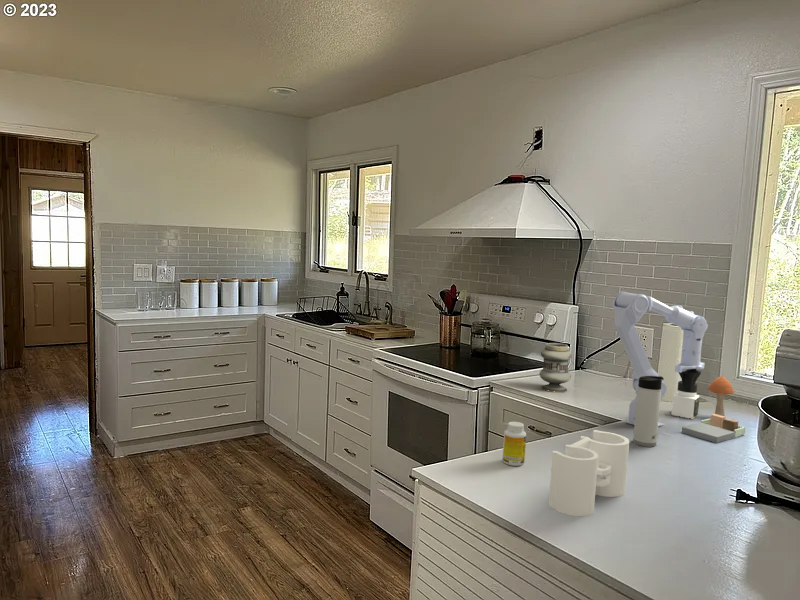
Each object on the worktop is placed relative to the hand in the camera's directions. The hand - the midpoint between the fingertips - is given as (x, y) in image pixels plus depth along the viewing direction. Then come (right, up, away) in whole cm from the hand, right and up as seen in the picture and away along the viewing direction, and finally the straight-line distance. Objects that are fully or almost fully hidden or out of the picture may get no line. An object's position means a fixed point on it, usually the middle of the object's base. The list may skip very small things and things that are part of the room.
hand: (687, 391), depth 200 cm
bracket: (-53, -14, -64) cm, 84 cm away
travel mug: (-24, -12, -24) cm, 36 cm away
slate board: (+1, -12, -12) cm, 17 cm away
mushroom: (+14, -11, +8) cm, 19 cm away
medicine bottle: (+4, -10, +10) cm, 15 cm away
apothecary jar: (-34, -5, +39) cm, 52 cm away
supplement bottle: (-66, -12, -45) cm, 81 cm away
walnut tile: (+8, -9, -11) cm, 16 cm away
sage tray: (+7, -12, -7) cm, 16 cm away
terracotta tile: (+6, -9, -6) cm, 12 cm away
